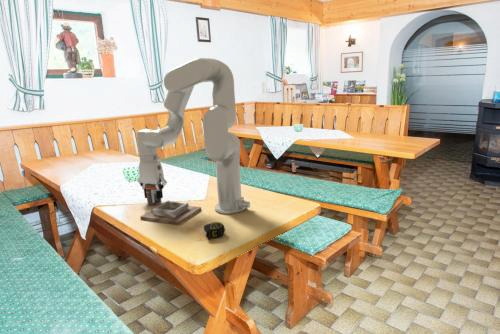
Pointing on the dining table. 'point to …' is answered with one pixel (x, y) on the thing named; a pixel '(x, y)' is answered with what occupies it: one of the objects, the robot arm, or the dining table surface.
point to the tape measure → (214, 230)
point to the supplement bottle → (152, 194)
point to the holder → (171, 213)
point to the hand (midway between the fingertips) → (153, 197)
